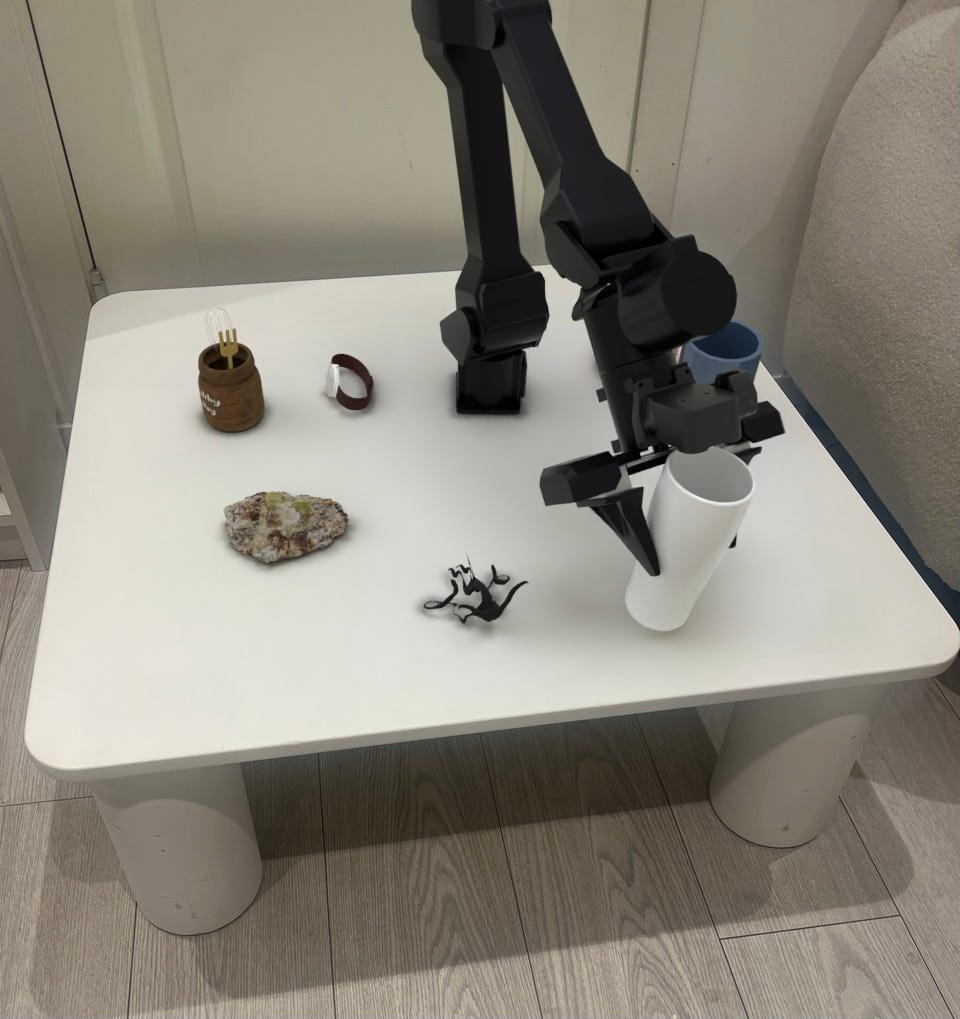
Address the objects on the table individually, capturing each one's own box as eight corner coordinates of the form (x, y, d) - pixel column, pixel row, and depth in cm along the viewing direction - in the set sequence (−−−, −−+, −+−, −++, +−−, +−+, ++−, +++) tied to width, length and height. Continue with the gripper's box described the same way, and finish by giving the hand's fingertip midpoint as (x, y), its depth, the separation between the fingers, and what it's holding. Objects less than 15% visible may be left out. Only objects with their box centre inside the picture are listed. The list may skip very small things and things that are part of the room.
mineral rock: (218, 554, 83) (222, 472, 87) (224, 578, 87) (227, 497, 91) (350, 550, 85) (347, 469, 89) (350, 573, 89) (348, 494, 92)
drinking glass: (690, 652, 80) (754, 517, 69) (607, 626, 80) (658, 488, 70) (700, 592, 85) (761, 458, 74) (622, 568, 85) (672, 431, 75)
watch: (321, 373, 105) (318, 344, 103) (365, 367, 106) (364, 338, 104) (334, 419, 100) (332, 390, 98) (381, 412, 101) (379, 383, 99)
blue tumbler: (674, 439, 100) (692, 361, 93) (663, 393, 105) (679, 316, 98) (748, 441, 100) (771, 362, 93) (734, 394, 105) (754, 317, 99)
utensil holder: (255, 390, 103) (240, 287, 95) (274, 426, 99) (259, 323, 91) (197, 404, 101) (176, 301, 93) (214, 442, 97) (194, 337, 89)
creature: (411, 600, 85) (453, 653, 79) (404, 548, 82) (447, 599, 76) (493, 570, 88) (540, 619, 82) (490, 518, 85) (537, 566, 79)
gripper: (575, 375, 65) (642, 606, 66) (803, 311, 71) (861, 522, 72) (510, 400, 76) (569, 599, 76) (714, 342, 82) (766, 526, 83)
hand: (693, 561), depth 77 cm, fingers closed on drinking glass, 6 cm apart
